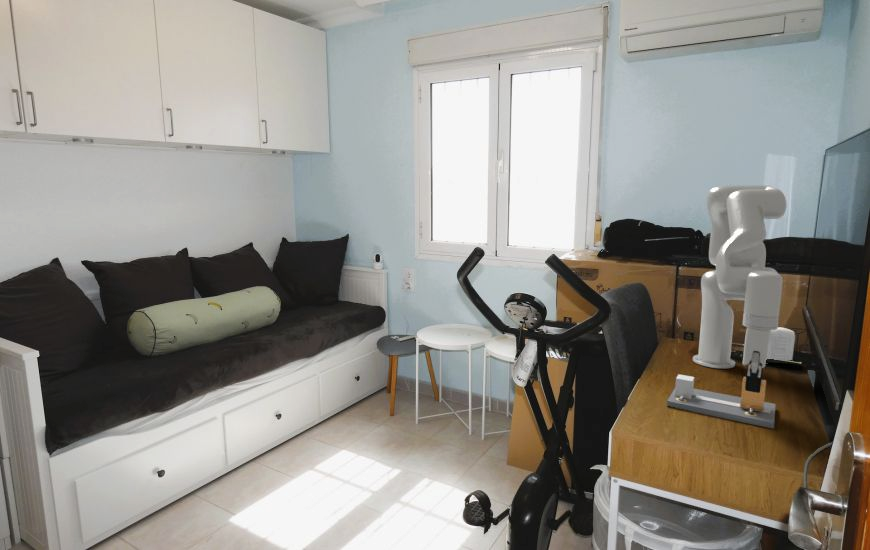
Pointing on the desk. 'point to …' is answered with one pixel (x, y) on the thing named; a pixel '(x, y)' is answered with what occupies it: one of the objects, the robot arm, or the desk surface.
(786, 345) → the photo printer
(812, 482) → the desk surface
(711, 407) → the slide rail plate
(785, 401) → the desk surface
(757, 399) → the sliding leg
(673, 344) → the desk surface
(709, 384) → the desk surface
